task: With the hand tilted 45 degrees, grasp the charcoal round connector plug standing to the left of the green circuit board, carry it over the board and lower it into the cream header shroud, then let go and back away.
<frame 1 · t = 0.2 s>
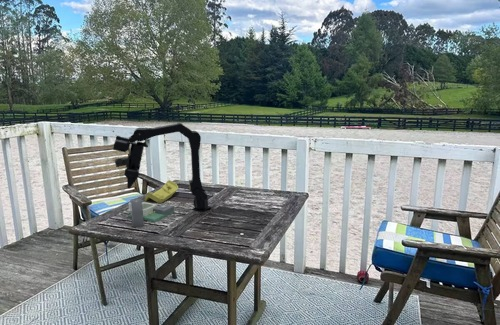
hand: (129, 185, 176), 15 cm above the table, tool tilted 15°, fingers open, 9 cm apart
plastic component: (163, 198, 206), on the table
header board: (145, 214, 181), on the table
plug: (138, 225, 168), on the table
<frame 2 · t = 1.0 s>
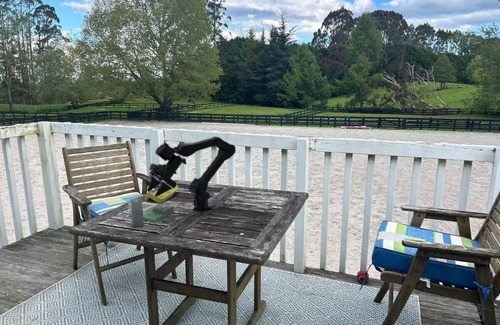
hand: (151, 193, 169), 13 cm above the table, tool tilted 45°, fingers open, 9 cm apart
nothing on the table moved.
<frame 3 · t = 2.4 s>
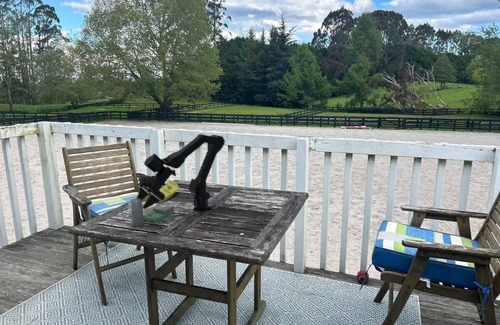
hand: (139, 205, 166), 9 cm above the table, tool tilted 45°, fingers open, 9 cm apart
nothing on the table moved.
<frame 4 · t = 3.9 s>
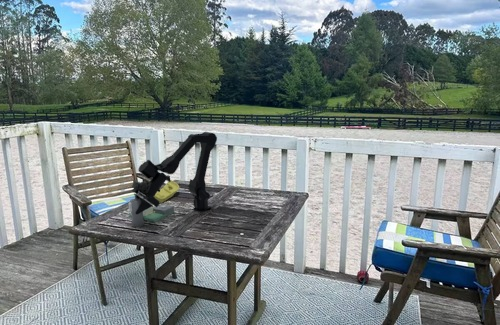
hand: (133, 212, 165), 7 cm above the table, tool tilted 45°, fingers closed on plug, 5 cm apart
plug: (138, 225, 168), on the table, touching gripper
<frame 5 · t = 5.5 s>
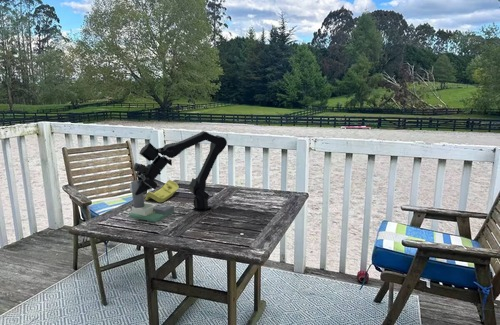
hand: (134, 193, 170), 13 cm above the table, tool tilted 45°, fingers closed on plug, 5 cm apart
plug: (139, 206, 172), point 7 cm above the table, touching gripper
when the fingers open (9 cm above the table, at t = 7.4 s): plug drops 2 cm, resting on header board.
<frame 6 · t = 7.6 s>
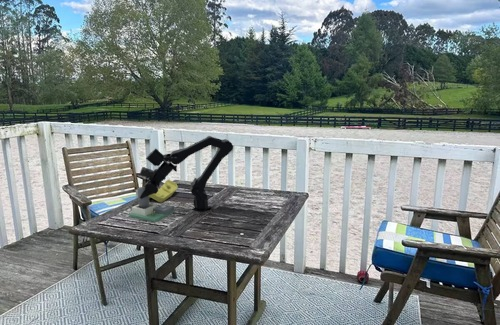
hand: (140, 195, 179), 10 cm above the table, tool tilted 45°, fingers open, 7 cm apart
plug: (145, 211, 181), point 1 cm above the table, touching header board
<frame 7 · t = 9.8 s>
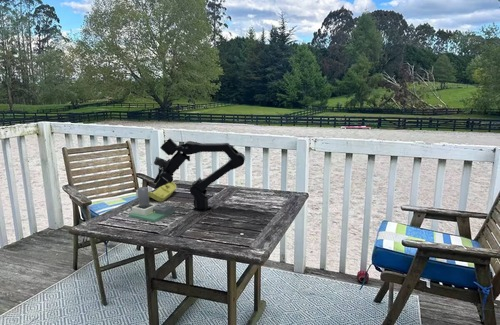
hand: (154, 185, 181), 14 cm above the table, tool tilted 45°, fingers open, 9 cm apart
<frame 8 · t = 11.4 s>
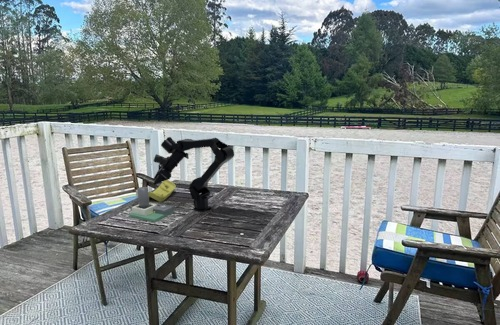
hand: (154, 181, 188), 14 cm above the table, tool tilted 45°, fingers open, 9 cm apart
at the end: plug 0.0 cm off-centre on the header board, point 1.2 cm above the header board's base; plug tilted 1°; the gripper is holding nothing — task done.
